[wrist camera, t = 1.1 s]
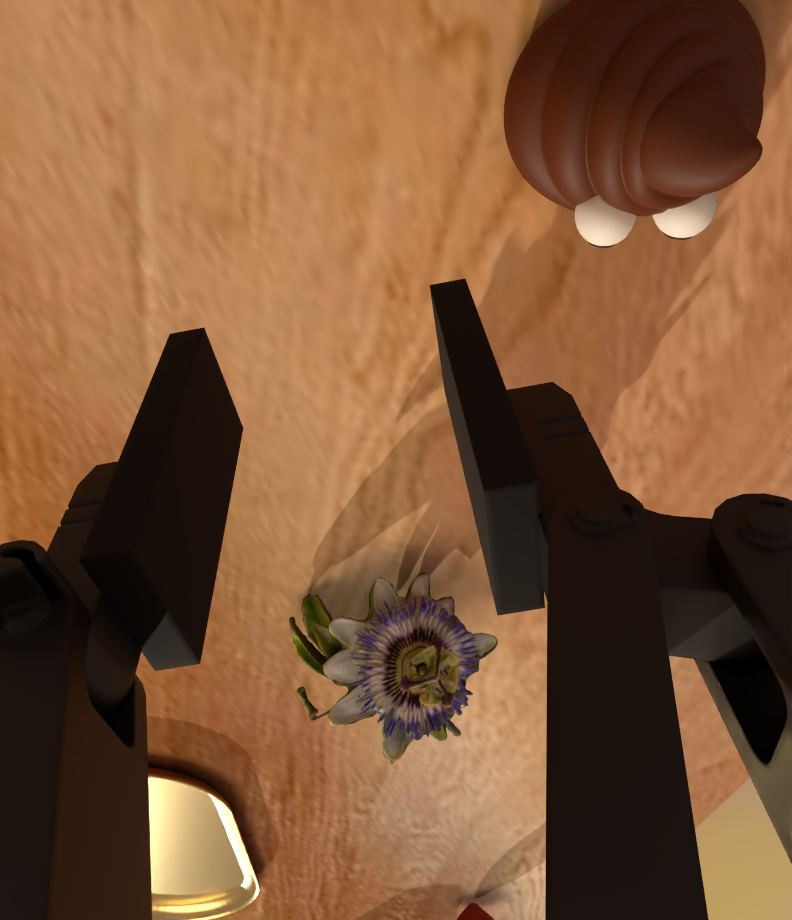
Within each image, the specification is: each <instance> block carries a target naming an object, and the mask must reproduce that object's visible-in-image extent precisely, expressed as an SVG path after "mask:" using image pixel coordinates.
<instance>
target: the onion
mask: <svg viewBox="0 0 792 920" xmlns="http://www.w3.org/2000/svg"><path fill="white" fill-rule="evenodd" d="M457 920H494V919H493V918H492V917H491V916H490V915H489V914H488V913H486V912H485V911H484V910H483V909H482V908H481V907H479V906H478V905H477V904H476V903H471V904H469V905H468V906H467V907H466V909H465V910H464V911H463V912H462V913H461V914H460V915H459V917H458V918H457Z"/></svg>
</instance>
